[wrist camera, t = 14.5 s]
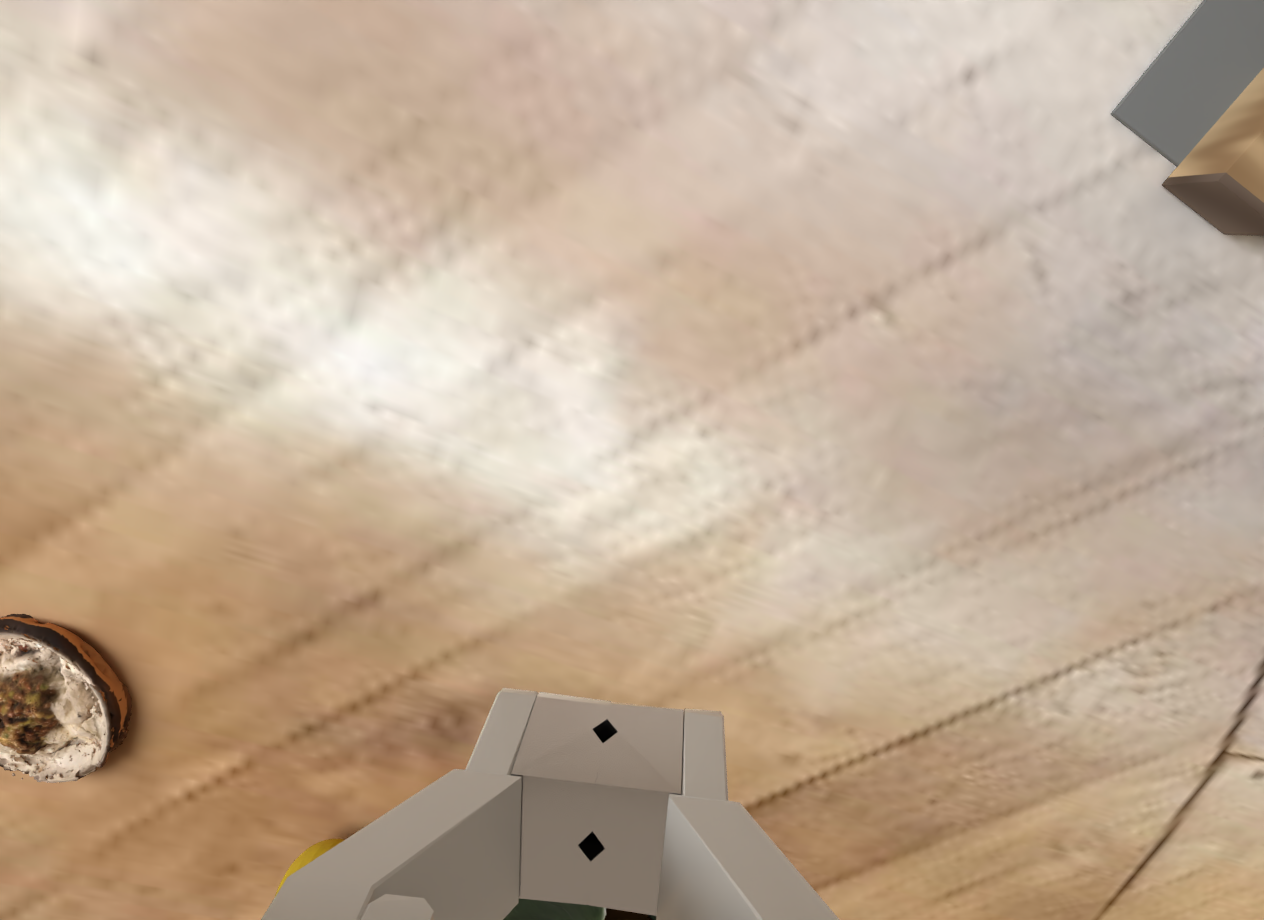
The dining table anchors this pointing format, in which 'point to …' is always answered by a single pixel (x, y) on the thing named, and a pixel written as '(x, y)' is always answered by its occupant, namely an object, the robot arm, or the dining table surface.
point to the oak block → (1228, 168)
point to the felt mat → (1196, 77)
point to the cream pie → (56, 702)
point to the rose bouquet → (556, 911)
